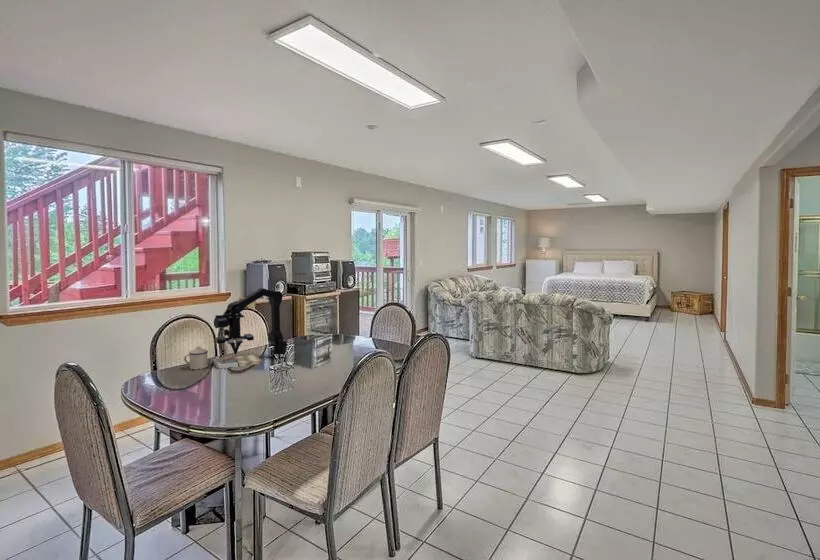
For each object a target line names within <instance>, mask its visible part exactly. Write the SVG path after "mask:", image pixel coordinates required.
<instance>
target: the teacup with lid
mask: <svg viewBox="0 0 820 560" xmlns="http://www.w3.org/2000/svg"><path fill="white" fill-rule="evenodd" d="M208 352H209V351H208V349H205V348H202V347H201V346H200V345H198V346H196V347H195V348H194V349H192V350H190V351H189V352H188V354H186V355H184V357H183V361H184V362H185V363H186V364H188V365H189V369H191V370H192V369H195V370H194V371H198V370H197V369H200V370H204V369H203V368H205V369H207V368H208V366H209V365H208V363H209V362H208V361H209V359H208ZM187 357H189V361H188V360H187ZM206 367H207V368H206Z"/></svg>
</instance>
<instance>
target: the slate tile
mask: <svg viewBox="0 0 820 560" xmlns="http://www.w3.org/2000/svg"><path fill="white" fill-rule="evenodd" d="M234 362H236V361H235V359H234V358H232V359H229V360H225V361H224V363H225V364H226V363H234Z"/></svg>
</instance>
